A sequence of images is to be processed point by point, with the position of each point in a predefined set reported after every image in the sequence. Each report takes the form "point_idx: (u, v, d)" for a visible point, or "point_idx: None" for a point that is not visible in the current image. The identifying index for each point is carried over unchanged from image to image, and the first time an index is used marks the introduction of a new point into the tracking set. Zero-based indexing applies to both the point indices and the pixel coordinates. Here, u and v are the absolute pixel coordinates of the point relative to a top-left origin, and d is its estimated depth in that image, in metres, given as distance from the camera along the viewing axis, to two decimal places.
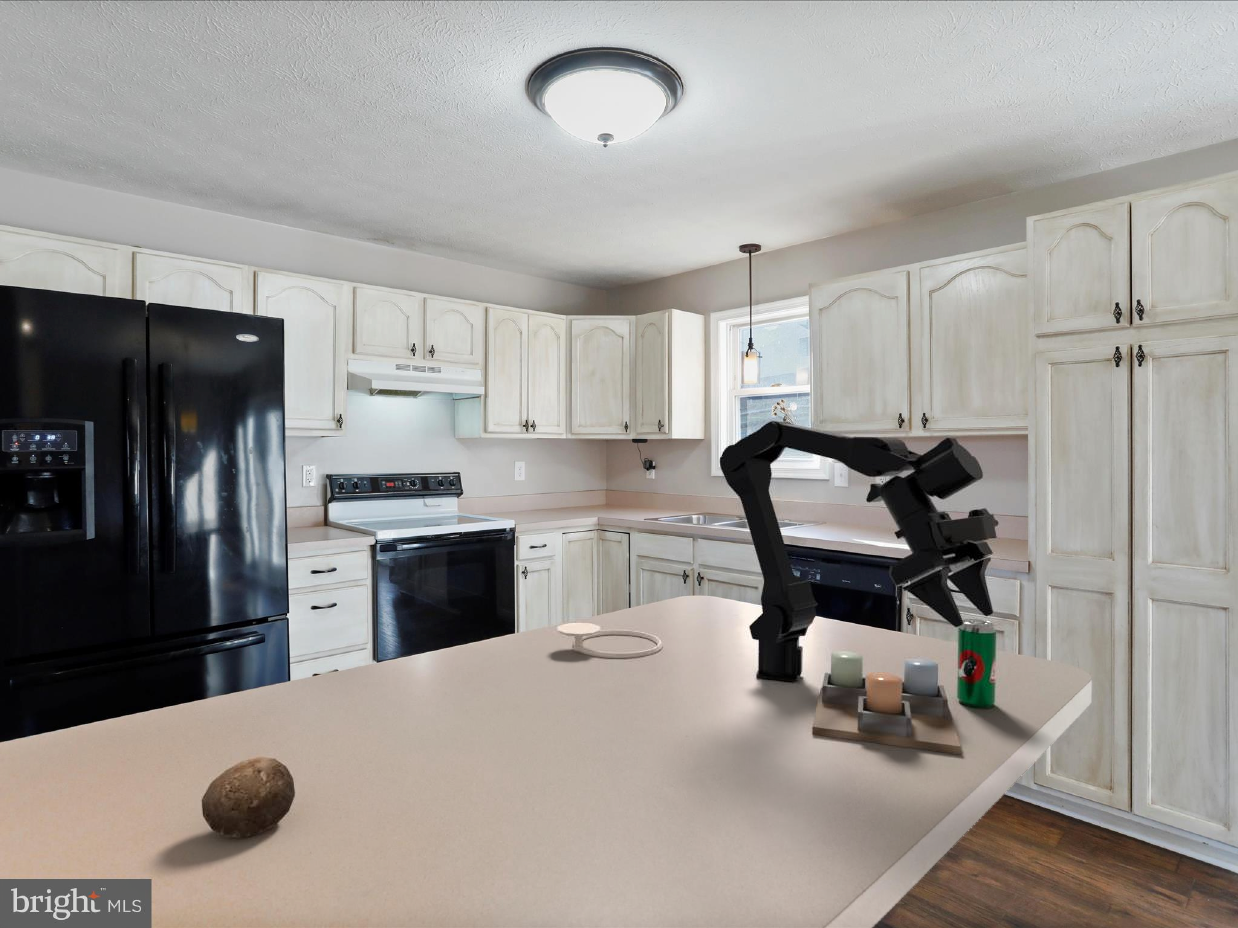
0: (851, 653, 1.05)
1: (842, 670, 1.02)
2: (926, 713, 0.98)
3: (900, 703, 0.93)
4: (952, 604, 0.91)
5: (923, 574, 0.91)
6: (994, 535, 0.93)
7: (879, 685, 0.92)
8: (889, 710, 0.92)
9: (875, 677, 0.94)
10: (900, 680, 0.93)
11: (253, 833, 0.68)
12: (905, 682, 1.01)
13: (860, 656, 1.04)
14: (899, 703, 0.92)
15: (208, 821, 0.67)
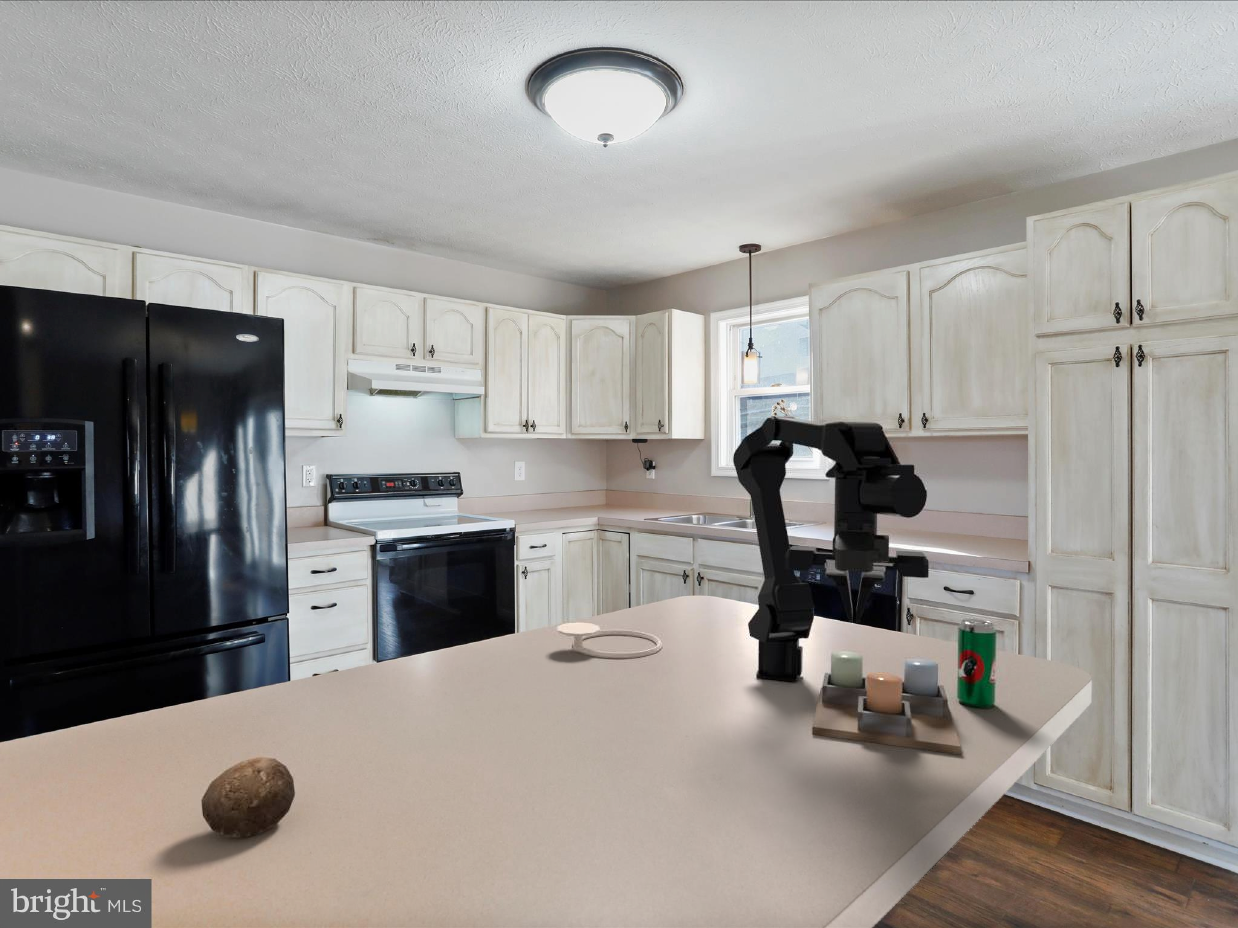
0: (851, 653, 1.05)
1: (842, 670, 1.02)
2: (926, 713, 0.98)
3: (900, 703, 0.93)
4: (844, 603, 1.00)
5: None
6: (861, 570, 0.93)
7: (879, 685, 0.92)
8: (889, 710, 0.92)
9: (875, 677, 0.94)
10: (900, 680, 0.93)
11: (253, 833, 0.68)
12: (905, 682, 1.01)
13: (860, 656, 1.04)
14: (899, 703, 0.92)
15: (208, 821, 0.67)
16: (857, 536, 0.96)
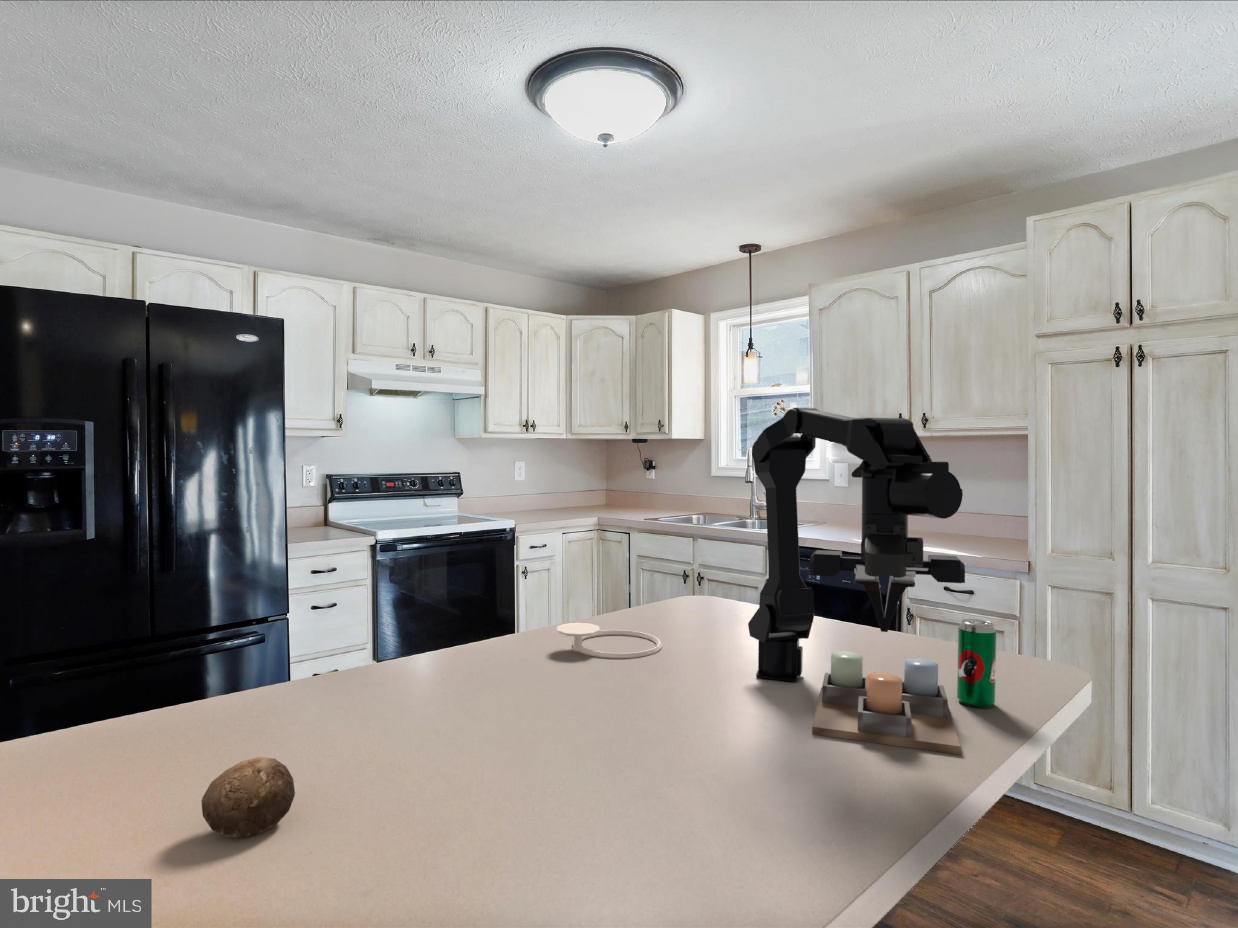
0: (851, 653, 1.05)
1: (842, 670, 1.02)
2: (926, 713, 0.98)
3: (900, 703, 0.93)
4: (875, 611, 0.94)
5: None
6: (894, 575, 0.87)
7: (879, 685, 0.92)
8: (889, 710, 0.92)
9: (875, 677, 0.94)
10: (900, 680, 0.93)
11: (253, 833, 0.68)
12: (905, 682, 1.01)
13: (860, 656, 1.04)
14: (899, 703, 0.92)
15: (208, 821, 0.67)
16: (888, 539, 0.90)
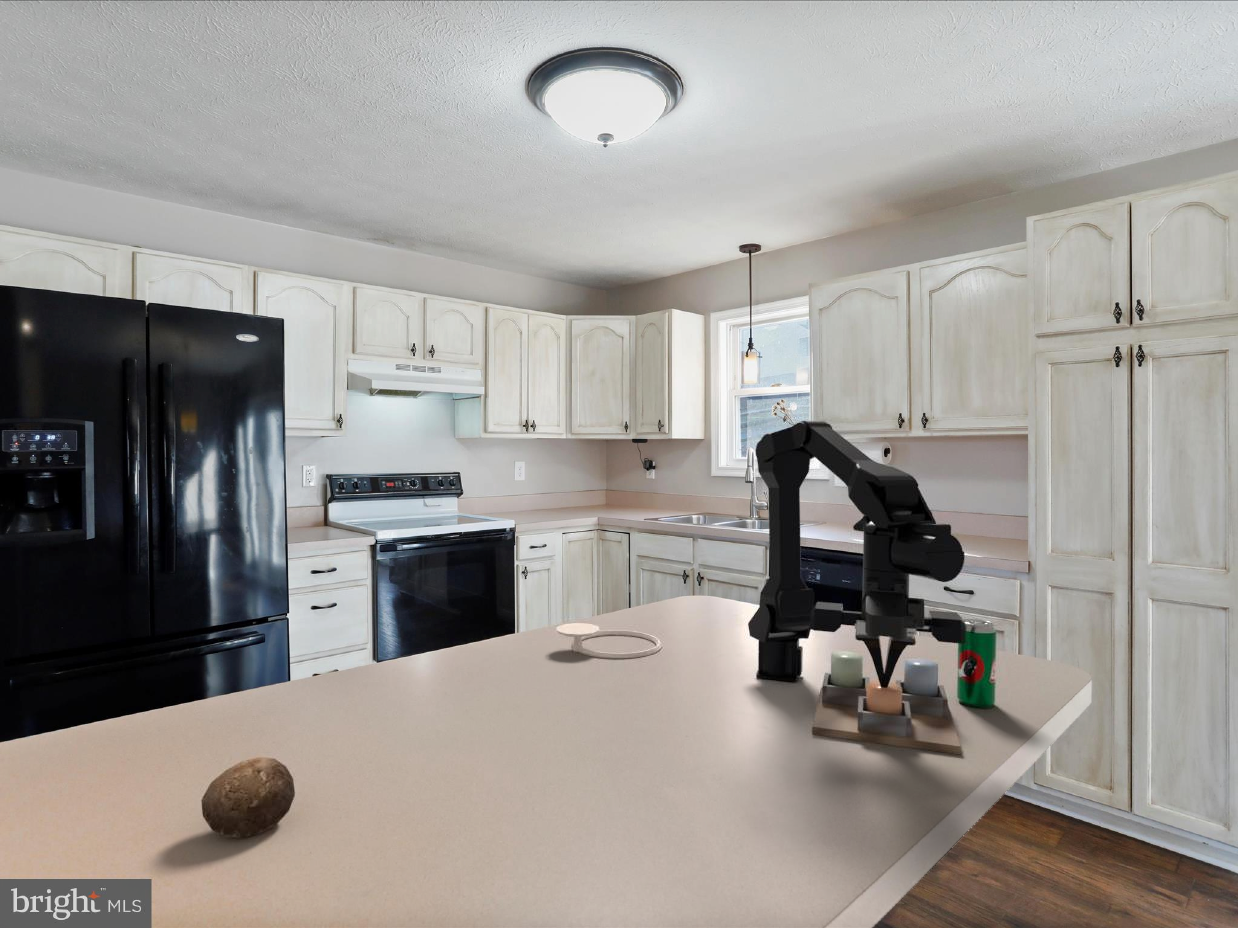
0: (851, 653, 1.05)
1: (842, 670, 1.02)
2: (926, 713, 0.98)
3: (900, 712, 0.93)
4: (875, 667, 0.93)
5: None
6: (894, 636, 0.86)
7: (879, 693, 0.92)
8: None
9: (875, 685, 0.94)
10: (900, 689, 0.93)
11: (253, 833, 0.68)
12: (905, 682, 1.01)
13: (860, 656, 1.04)
14: (899, 712, 0.92)
15: (208, 821, 0.67)
16: (889, 598, 0.89)
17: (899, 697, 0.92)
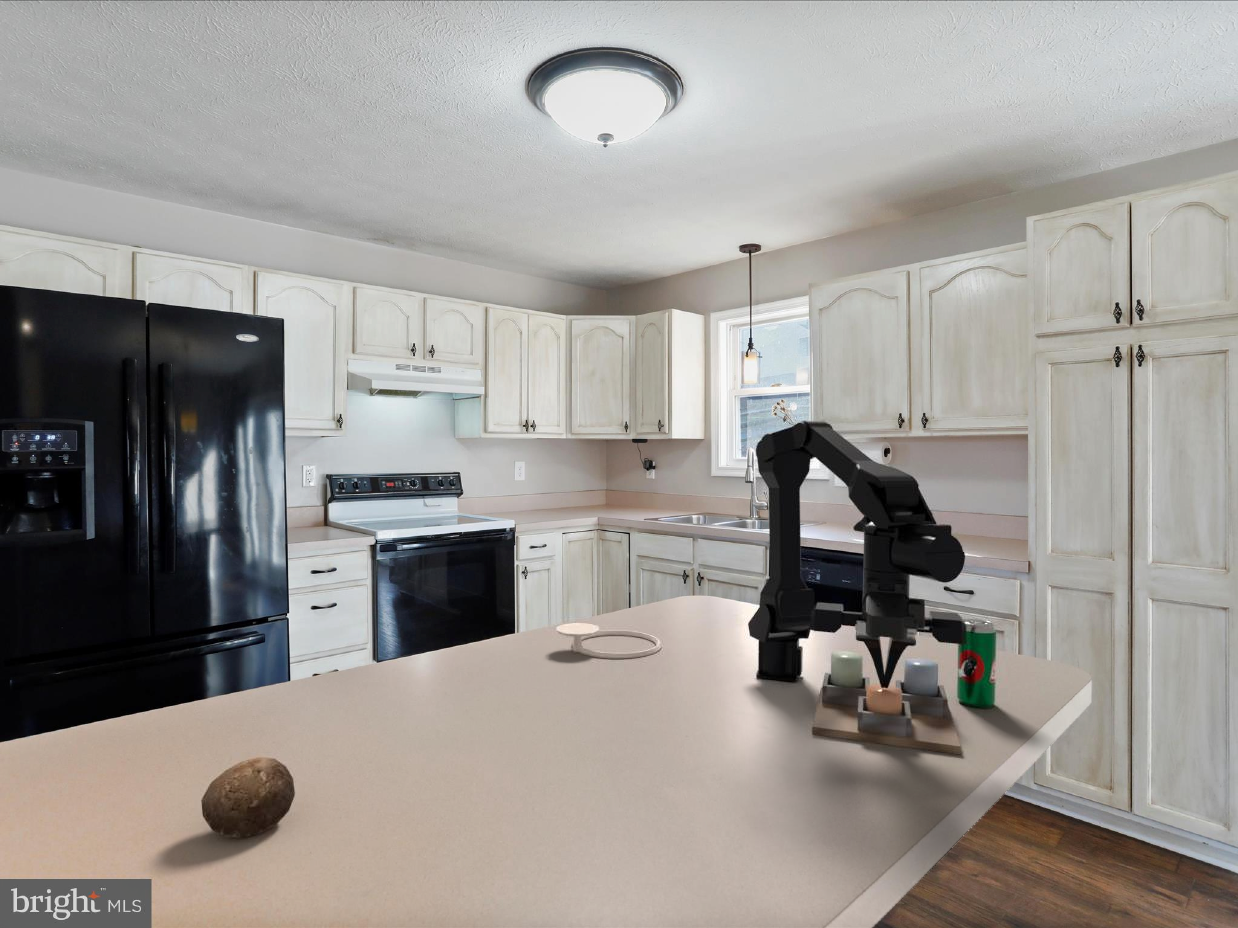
0: (851, 653, 1.05)
1: (842, 670, 1.02)
2: (926, 713, 0.98)
3: (900, 715, 0.93)
4: (876, 668, 0.93)
5: (857, 631, 0.94)
6: (895, 637, 0.86)
7: (878, 696, 0.92)
8: None
9: (875, 688, 0.94)
10: (900, 692, 0.93)
11: (253, 833, 0.68)
12: (905, 682, 1.01)
13: (860, 656, 1.04)
14: None
15: (208, 821, 0.67)
16: (889, 598, 0.89)
17: (899, 700, 0.92)
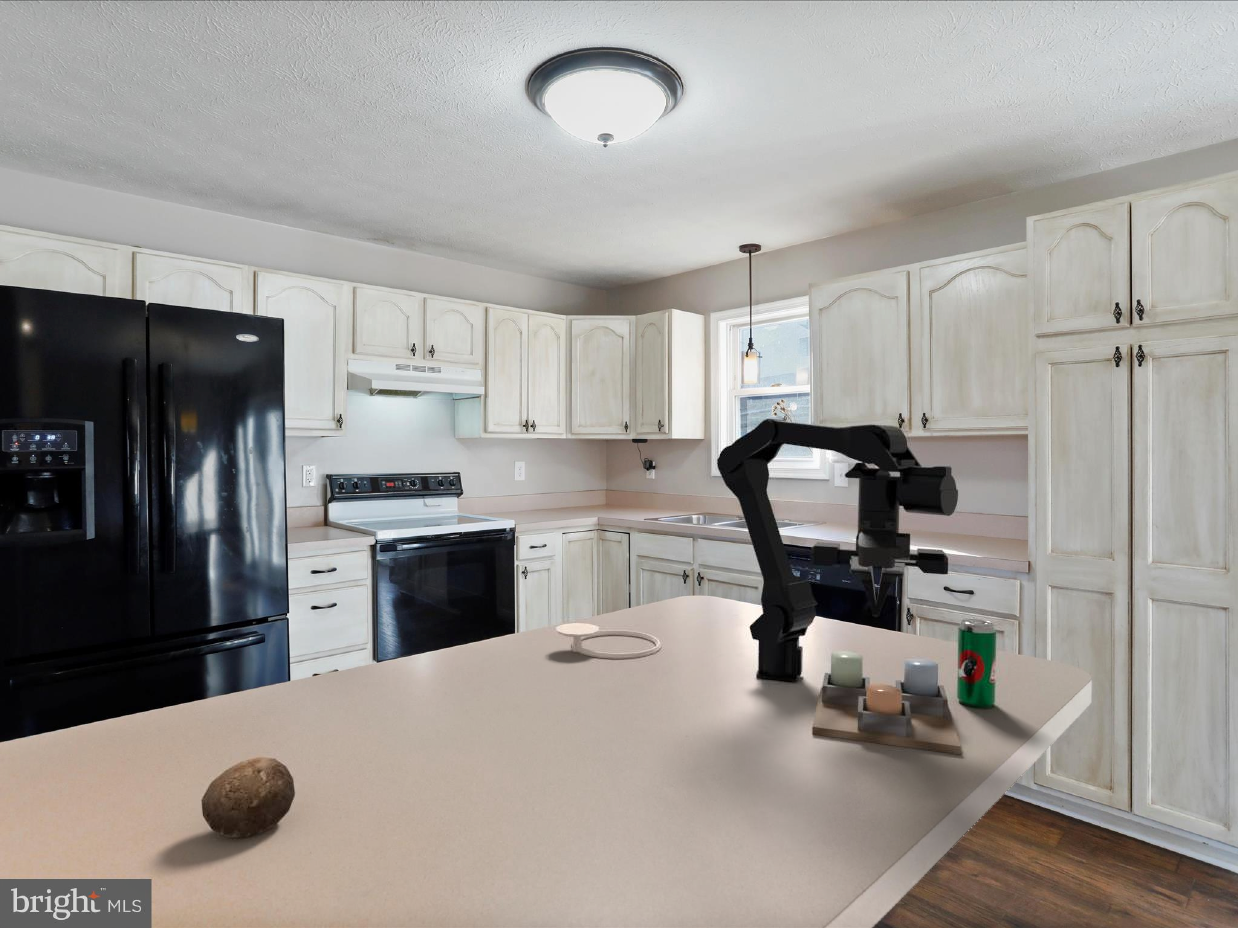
0: (851, 653, 1.05)
1: (842, 670, 1.02)
2: (926, 713, 0.98)
3: (900, 715, 0.93)
4: (868, 598, 1.05)
5: None
6: (883, 566, 0.98)
7: (878, 696, 0.92)
8: None
9: (875, 688, 0.94)
10: (900, 692, 0.93)
11: (253, 833, 0.68)
12: (905, 682, 1.01)
13: (860, 656, 1.04)
14: None
15: (208, 821, 0.67)
16: (880, 534, 1.01)
17: (899, 700, 0.92)
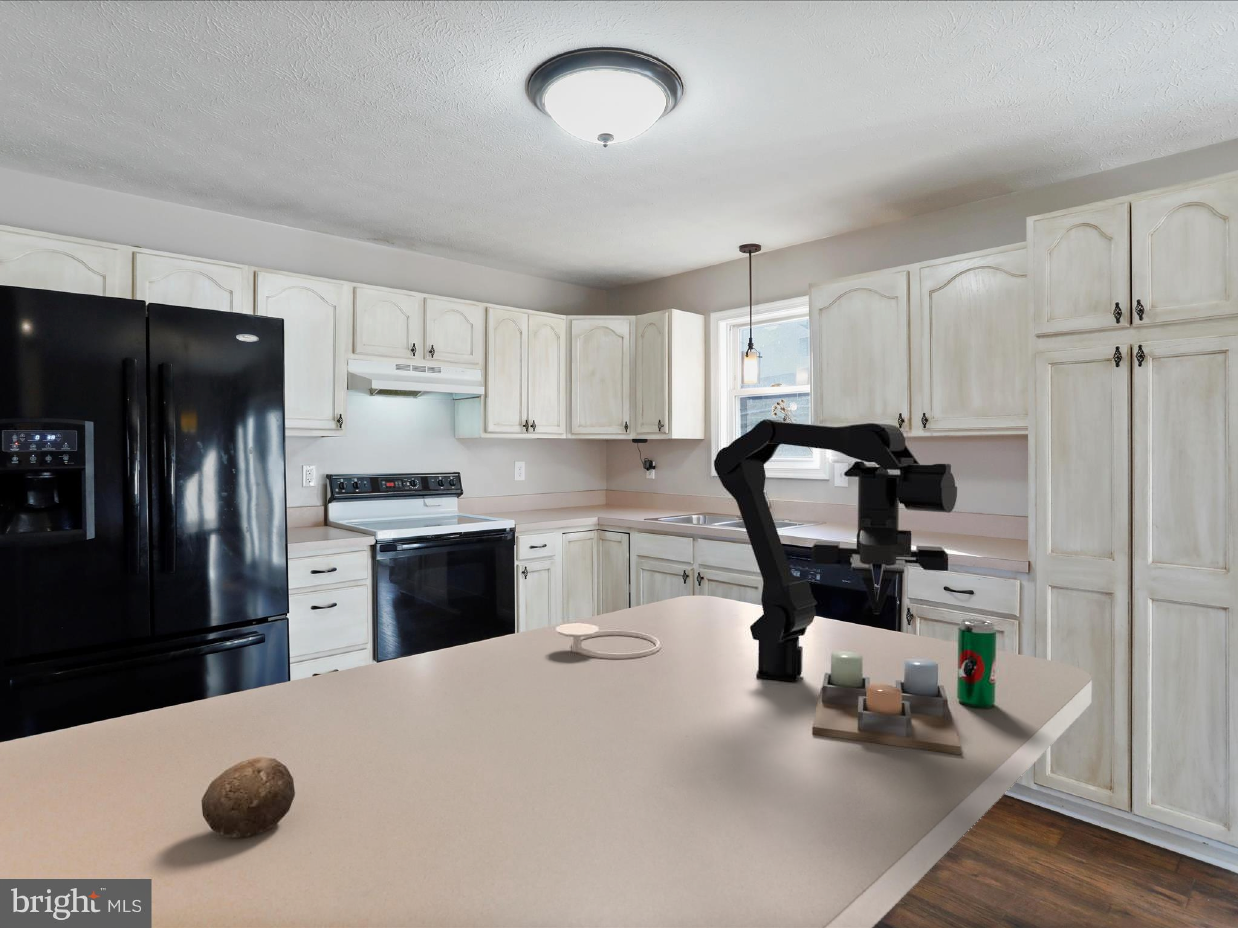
0: (851, 653, 1.05)
1: (842, 670, 1.02)
2: (926, 713, 0.98)
3: (900, 715, 0.93)
4: (869, 596, 1.05)
5: None
6: (885, 563, 0.98)
7: (878, 696, 0.92)
8: None
9: (875, 688, 0.94)
10: (900, 692, 0.93)
11: (253, 833, 0.68)
12: (905, 682, 1.01)
13: (860, 656, 1.04)
14: None
15: (208, 821, 0.67)
16: (880, 531, 1.01)
17: (899, 700, 0.92)
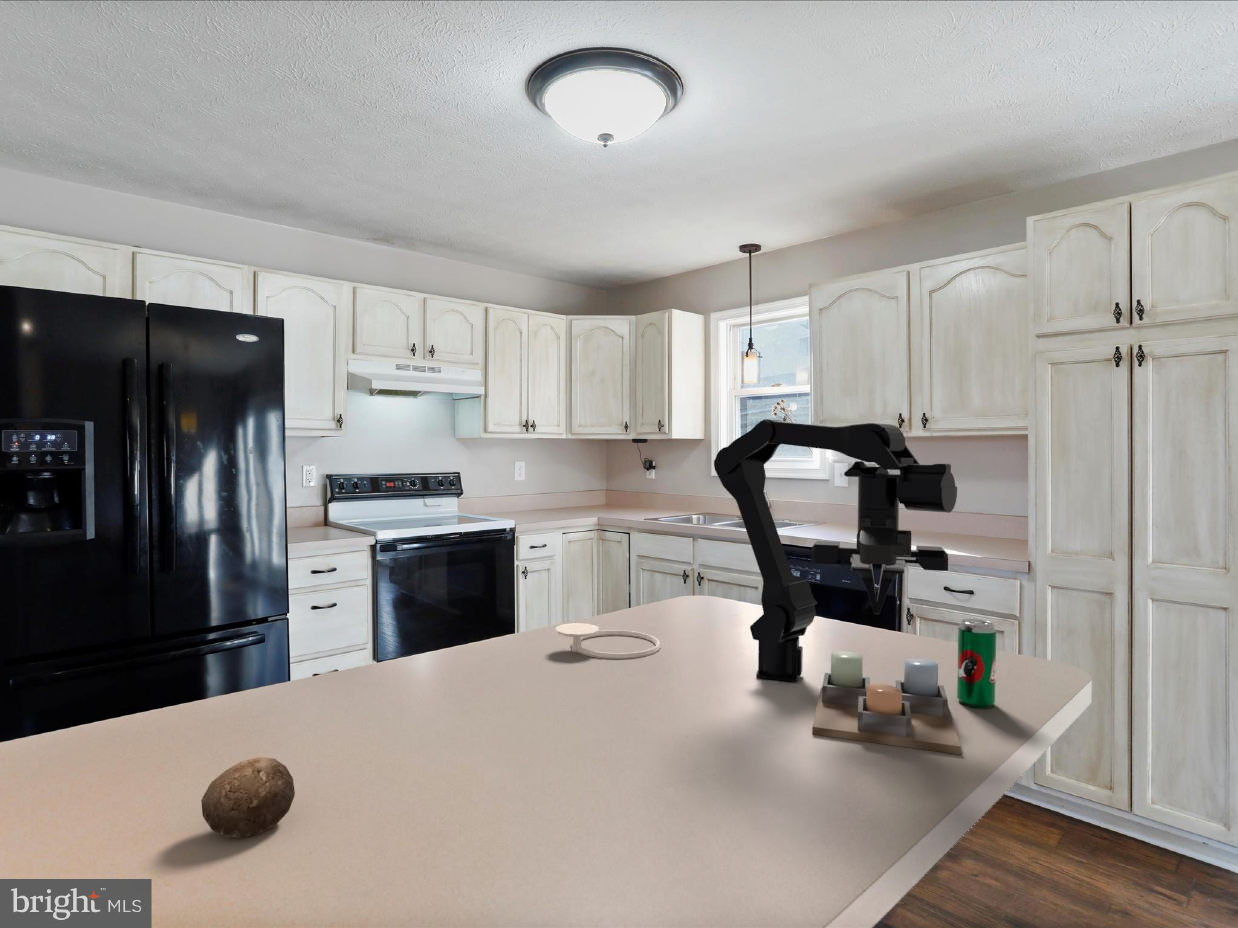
0: (851, 653, 1.05)
1: (842, 670, 1.02)
2: (926, 713, 0.98)
3: (900, 715, 0.93)
4: (869, 596, 1.05)
5: None
6: (885, 563, 0.98)
7: (878, 696, 0.92)
8: None
9: (875, 688, 0.94)
10: (900, 692, 0.93)
11: (253, 833, 0.68)
12: (905, 682, 1.01)
13: (860, 656, 1.04)
14: None
15: (208, 821, 0.67)
16: (880, 531, 1.01)
17: (899, 700, 0.92)
